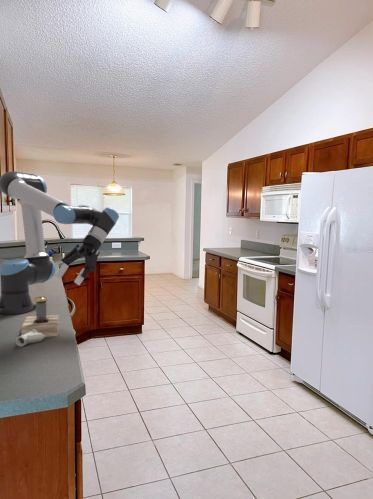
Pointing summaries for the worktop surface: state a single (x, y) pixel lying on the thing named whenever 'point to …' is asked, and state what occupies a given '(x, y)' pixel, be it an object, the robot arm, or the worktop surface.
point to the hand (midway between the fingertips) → (66, 280)
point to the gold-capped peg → (41, 309)
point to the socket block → (42, 325)
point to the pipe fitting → (29, 338)
